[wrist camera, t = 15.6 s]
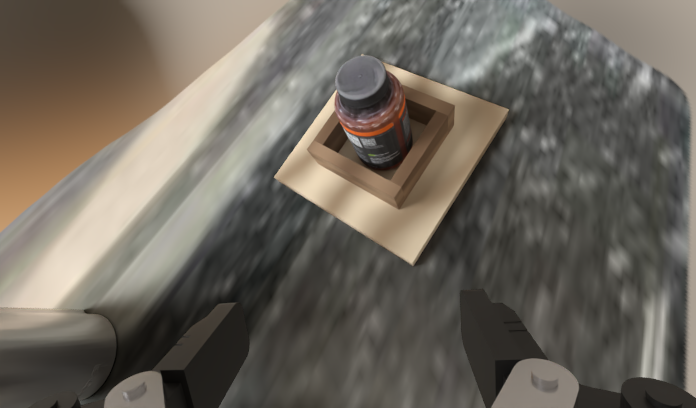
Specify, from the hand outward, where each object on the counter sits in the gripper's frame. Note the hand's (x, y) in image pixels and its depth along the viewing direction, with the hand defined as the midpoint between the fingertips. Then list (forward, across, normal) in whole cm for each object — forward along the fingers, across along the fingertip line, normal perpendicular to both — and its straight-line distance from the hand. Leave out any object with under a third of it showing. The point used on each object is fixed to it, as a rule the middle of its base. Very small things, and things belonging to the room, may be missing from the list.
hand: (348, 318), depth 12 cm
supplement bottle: (+26, -2, -4) cm, 26 cm away
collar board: (+27, -2, -3) cm, 27 cm away
